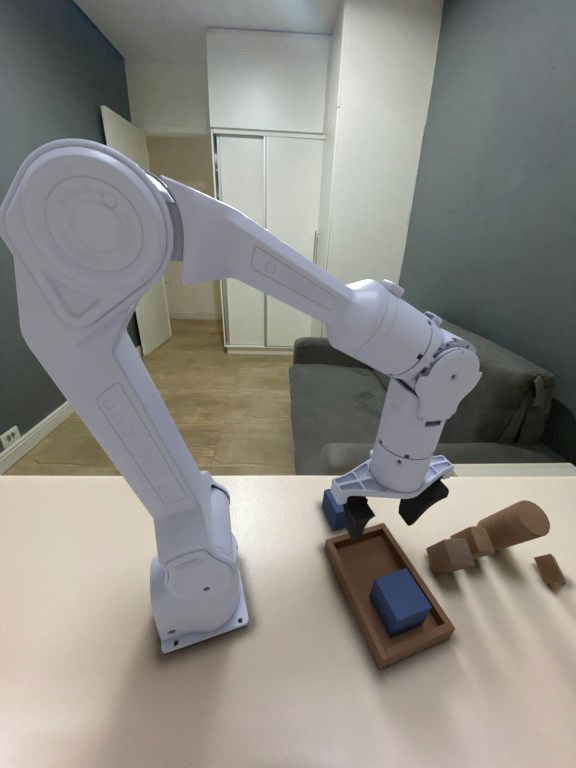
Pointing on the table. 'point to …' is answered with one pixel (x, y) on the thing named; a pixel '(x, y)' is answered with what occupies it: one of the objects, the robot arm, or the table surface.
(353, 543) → the frame
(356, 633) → the table surface
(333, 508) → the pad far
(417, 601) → the blue cube
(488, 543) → the wooden block set
